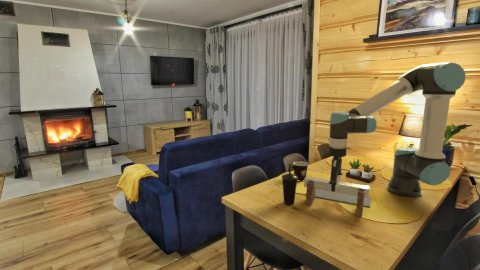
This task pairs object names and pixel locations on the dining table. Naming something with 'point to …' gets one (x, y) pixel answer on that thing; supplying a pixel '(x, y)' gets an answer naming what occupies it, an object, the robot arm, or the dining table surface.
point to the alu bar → (341, 186)
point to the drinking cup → (289, 187)
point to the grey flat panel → (341, 197)
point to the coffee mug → (300, 169)
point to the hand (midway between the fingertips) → (334, 192)
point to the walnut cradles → (311, 197)
